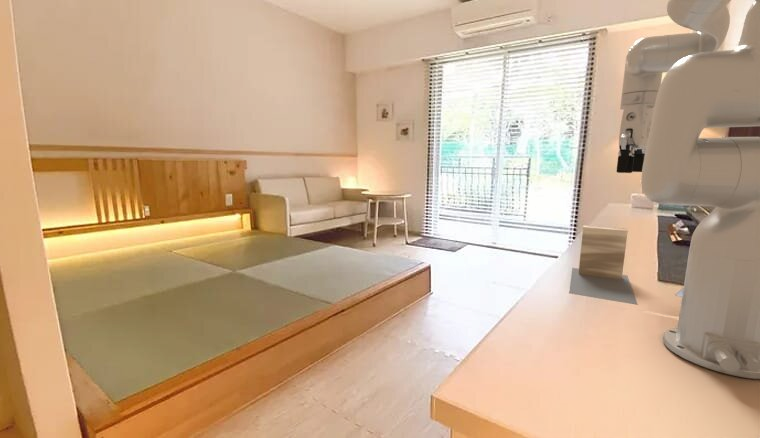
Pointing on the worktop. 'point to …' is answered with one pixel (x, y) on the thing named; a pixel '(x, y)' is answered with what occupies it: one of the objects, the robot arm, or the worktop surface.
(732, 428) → the worktop surface
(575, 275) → the mat
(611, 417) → the worktop surface
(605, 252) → the wooden block
